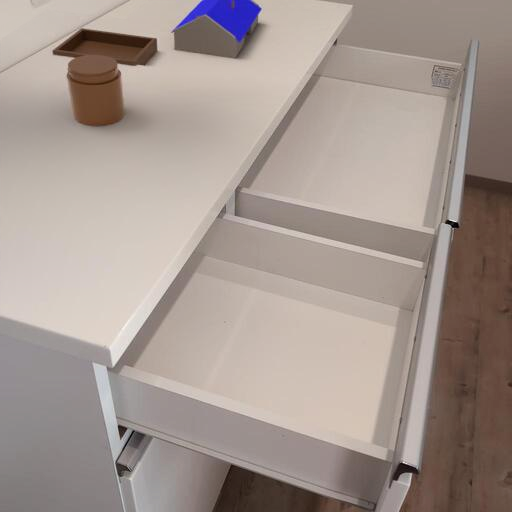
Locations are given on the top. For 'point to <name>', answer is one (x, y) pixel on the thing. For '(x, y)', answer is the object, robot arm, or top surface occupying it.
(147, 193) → the top surface
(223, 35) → the toy house
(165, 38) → the top surface
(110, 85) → the jar
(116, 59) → the tray
